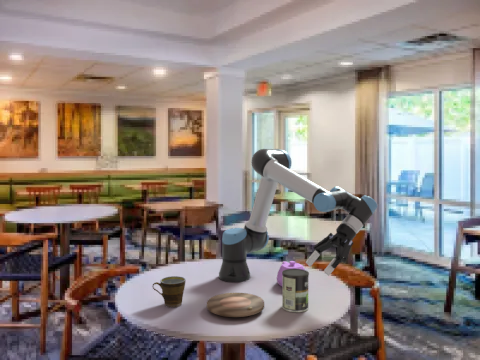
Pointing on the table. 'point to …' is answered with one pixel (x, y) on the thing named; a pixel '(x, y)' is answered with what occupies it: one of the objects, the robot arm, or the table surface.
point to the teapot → (285, 266)
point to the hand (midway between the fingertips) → (316, 268)
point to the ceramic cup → (172, 290)
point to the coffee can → (295, 290)
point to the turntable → (235, 304)
